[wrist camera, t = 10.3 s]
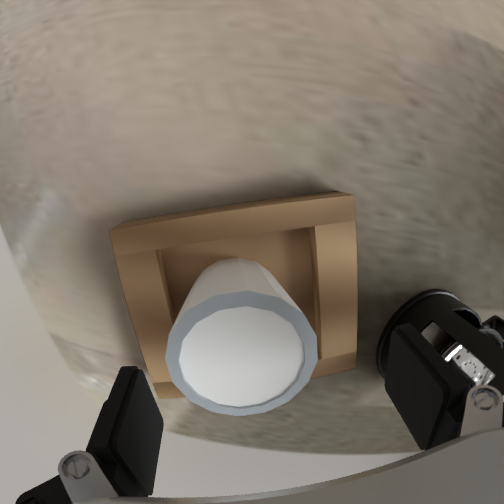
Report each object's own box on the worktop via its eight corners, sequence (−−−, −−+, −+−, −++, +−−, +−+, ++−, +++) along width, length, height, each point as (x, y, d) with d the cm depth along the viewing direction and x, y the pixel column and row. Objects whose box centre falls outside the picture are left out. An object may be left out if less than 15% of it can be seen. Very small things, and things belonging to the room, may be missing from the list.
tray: (121, 222, 19) (109, 230, 17) (338, 191, 20) (353, 195, 18) (163, 378, 23) (158, 398, 20) (344, 350, 23) (355, 368, 21)
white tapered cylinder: (159, 296, 20) (133, 358, 13) (239, 223, 19) (249, 256, 12) (232, 363, 21) (238, 435, 15) (310, 301, 21) (346, 360, 14)
